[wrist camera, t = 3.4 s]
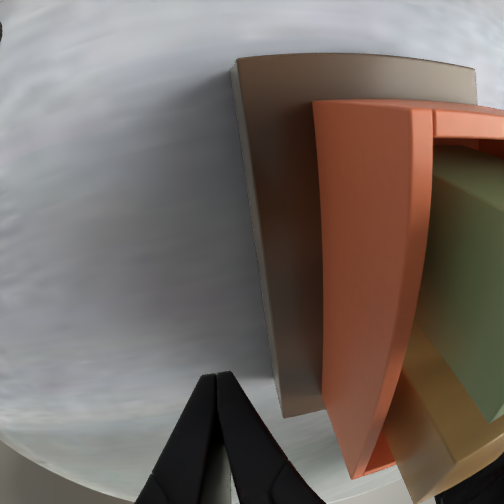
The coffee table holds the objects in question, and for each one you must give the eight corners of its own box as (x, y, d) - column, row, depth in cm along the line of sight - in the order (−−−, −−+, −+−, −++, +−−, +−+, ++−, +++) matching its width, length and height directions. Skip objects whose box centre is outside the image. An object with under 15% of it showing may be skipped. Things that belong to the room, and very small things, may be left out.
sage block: (452, 245, 11) (575, 357, 5) (367, 264, 11) (488, 425, 4) (461, 144, 9) (628, 221, 3) (368, 148, 9) (573, 253, 2)
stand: (409, 342, 18) (431, 374, 15) (273, 378, 18) (283, 419, 15) (431, 68, 11) (475, 68, 8) (229, 69, 10) (235, 58, 8)
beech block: (427, 352, 13) (496, 460, 7) (355, 376, 13) (413, 506, 7) (444, 287, 12) (545, 402, 5) (363, 309, 11) (455, 464, 5)
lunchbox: (437, 357, 15) (482, 422, 10) (321, 395, 14) (350, 480, 10) (478, 105, 9) (582, 131, 4) (311, 100, 8) (409, 107, 4)
